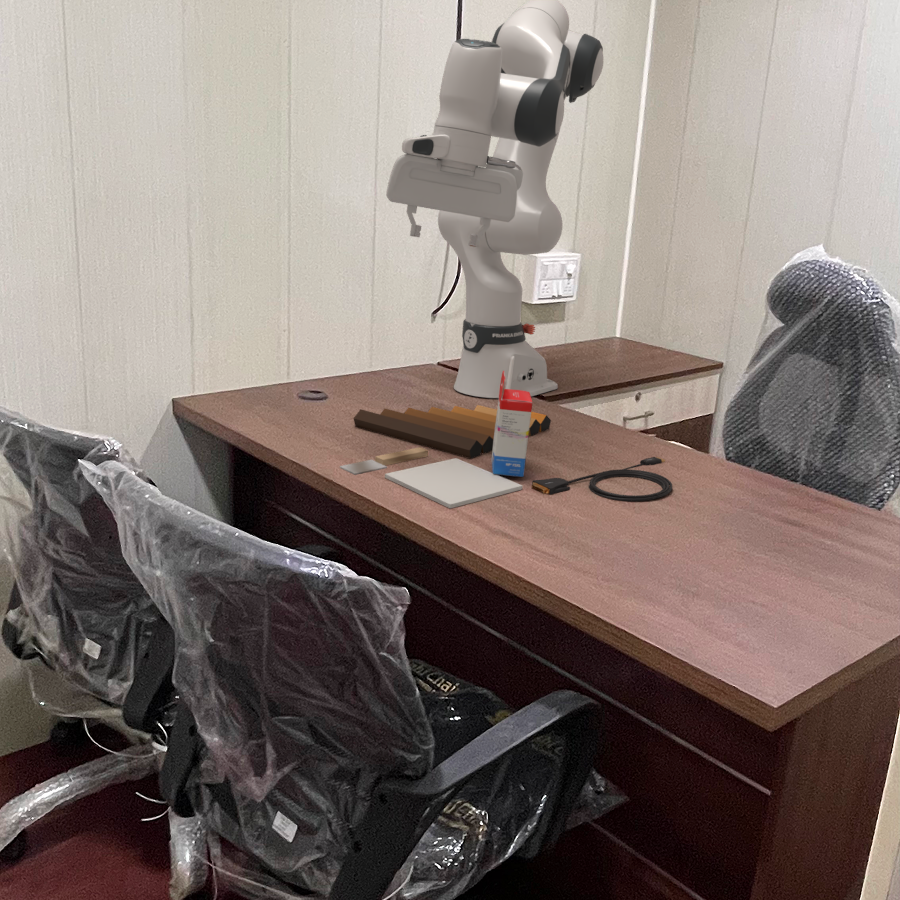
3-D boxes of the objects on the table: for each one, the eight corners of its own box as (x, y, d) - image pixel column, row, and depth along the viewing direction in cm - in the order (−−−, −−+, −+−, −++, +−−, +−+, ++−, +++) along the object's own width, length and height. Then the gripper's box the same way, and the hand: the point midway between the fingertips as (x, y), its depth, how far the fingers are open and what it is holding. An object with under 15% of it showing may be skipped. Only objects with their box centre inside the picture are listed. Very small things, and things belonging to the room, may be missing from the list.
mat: (455, 461, 152) (456, 458, 151) (522, 489, 141) (522, 485, 141) (384, 477, 143) (384, 473, 143) (450, 508, 132) (450, 504, 132)
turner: (416, 452, 156) (416, 445, 155) (432, 459, 153) (432, 451, 152) (339, 468, 146) (339, 461, 146) (354, 476, 143) (354, 468, 143)
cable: (722, 486, 148) (723, 477, 148) (592, 520, 132) (593, 510, 131) (656, 461, 158) (657, 453, 158) (527, 490, 142) (528, 480, 142)
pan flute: (353, 429, 167) (468, 462, 153) (353, 411, 166) (470, 442, 152) (440, 404, 186) (550, 431, 172) (441, 387, 185) (551, 413, 171)
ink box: (524, 478, 144) (536, 382, 141) (491, 474, 144) (503, 379, 140) (520, 462, 153) (532, 372, 149) (490, 459, 153) (501, 369, 149)
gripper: (521, 162, 151) (505, 250, 155) (393, 139, 148) (380, 229, 152) (528, 163, 145) (511, 254, 149) (395, 138, 142) (381, 232, 146)
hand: (444, 241), depth 151 cm, fingers open, 8 cm apart
